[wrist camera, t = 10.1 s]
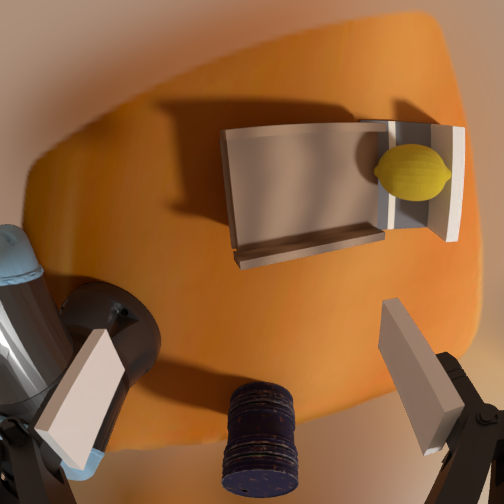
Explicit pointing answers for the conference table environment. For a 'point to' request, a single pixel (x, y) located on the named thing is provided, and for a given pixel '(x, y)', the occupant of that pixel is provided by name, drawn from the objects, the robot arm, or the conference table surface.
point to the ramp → (300, 189)
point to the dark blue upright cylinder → (260, 442)
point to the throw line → (391, 198)
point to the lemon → (412, 172)
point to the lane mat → (405, 210)
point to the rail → (448, 182)
